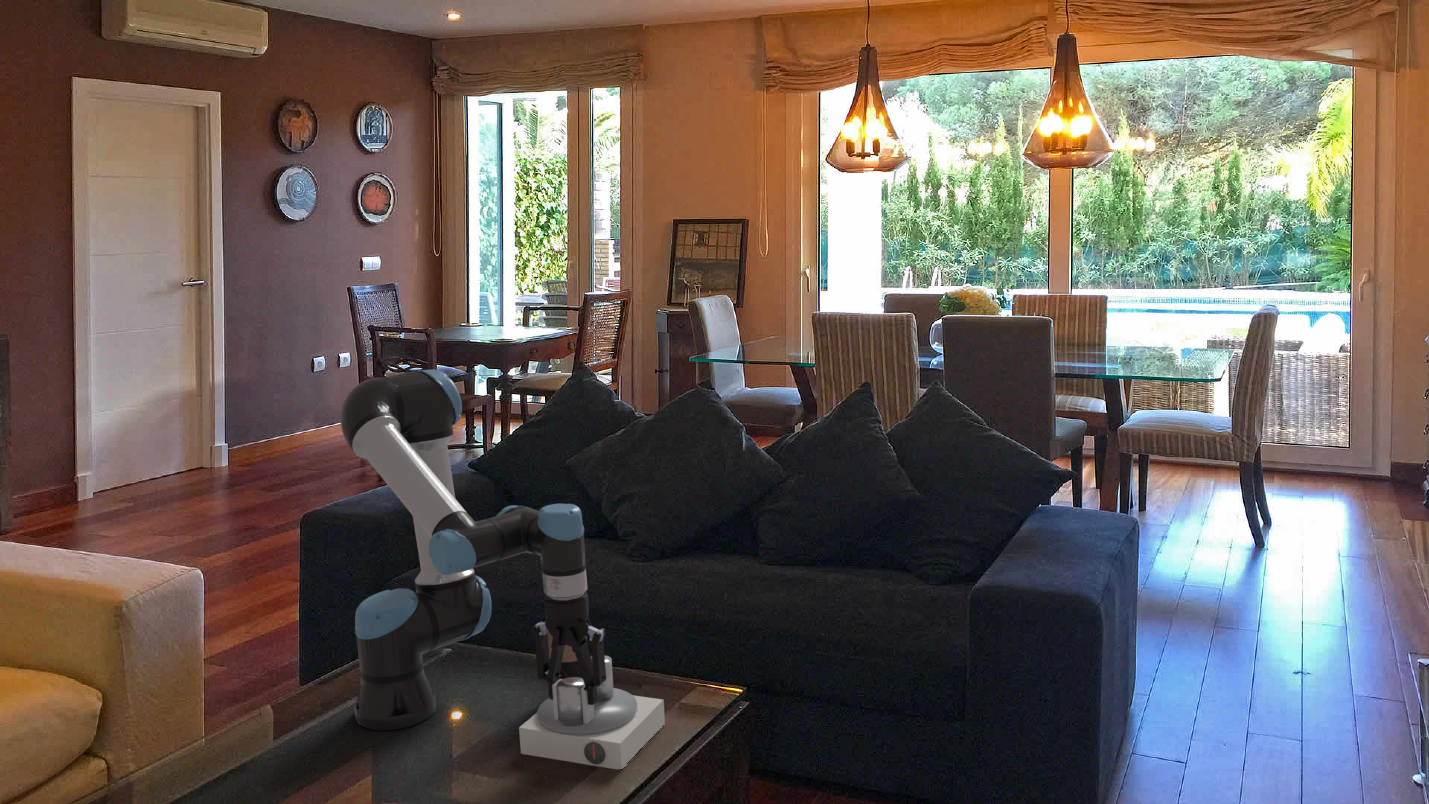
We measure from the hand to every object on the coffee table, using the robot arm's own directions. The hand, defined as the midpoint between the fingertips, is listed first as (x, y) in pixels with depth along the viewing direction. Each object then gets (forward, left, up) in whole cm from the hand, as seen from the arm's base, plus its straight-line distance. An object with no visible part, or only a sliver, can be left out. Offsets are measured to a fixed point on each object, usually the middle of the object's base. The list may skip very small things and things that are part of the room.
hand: (574, 718), depth 215 cm
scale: (+1, +5, -6) cm, 8 cm away
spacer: (0, 0, 0) cm, 0 cm away
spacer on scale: (0, +10, 0) cm, 10 cm away
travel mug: (-12, +20, -6) cm, 24 cm away
